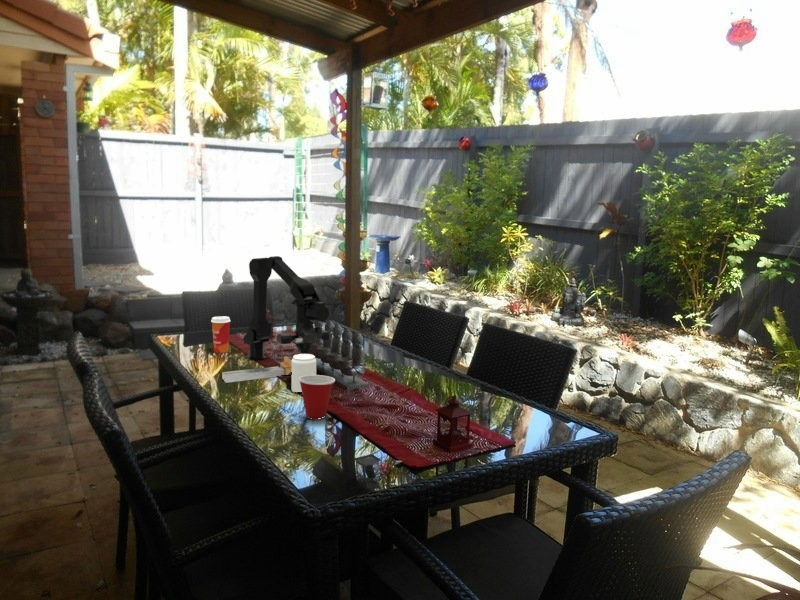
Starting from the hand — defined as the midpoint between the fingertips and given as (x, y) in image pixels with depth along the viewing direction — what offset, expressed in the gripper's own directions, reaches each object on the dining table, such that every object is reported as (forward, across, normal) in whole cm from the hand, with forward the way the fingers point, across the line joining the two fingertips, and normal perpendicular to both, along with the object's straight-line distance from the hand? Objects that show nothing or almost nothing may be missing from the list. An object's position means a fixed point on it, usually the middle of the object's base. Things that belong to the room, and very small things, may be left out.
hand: (303, 359), depth 239 cm
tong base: (+5, -18, 0) cm, 19 cm away
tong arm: (+5, -19, +1) cm, 20 cm away
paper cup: (+5, -20, +40) cm, 45 cm away
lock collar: (+5, -7, 0) cm, 8 cm away
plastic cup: (+5, -13, -46) cm, 48 cm away
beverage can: (+5, -8, -22) cm, 23 cm away
